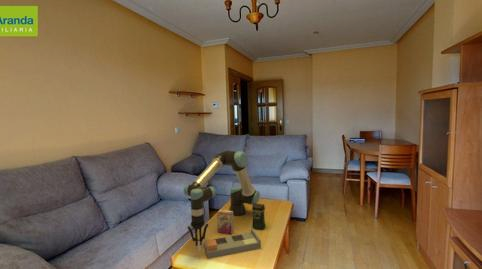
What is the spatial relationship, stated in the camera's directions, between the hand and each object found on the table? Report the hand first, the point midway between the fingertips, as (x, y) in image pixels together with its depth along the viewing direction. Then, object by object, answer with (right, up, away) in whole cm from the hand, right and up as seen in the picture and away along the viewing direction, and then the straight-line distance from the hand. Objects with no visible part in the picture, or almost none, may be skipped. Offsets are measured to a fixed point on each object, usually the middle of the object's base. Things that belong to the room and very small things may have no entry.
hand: (198, 250), depth 152 cm
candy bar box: (+15, -1, +29) cm, 32 cm away
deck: (+20, -2, +10) cm, 22 cm away
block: (+8, -1, +3) cm, 8 cm away
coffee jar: (+40, +1, +35) cm, 53 cm away
